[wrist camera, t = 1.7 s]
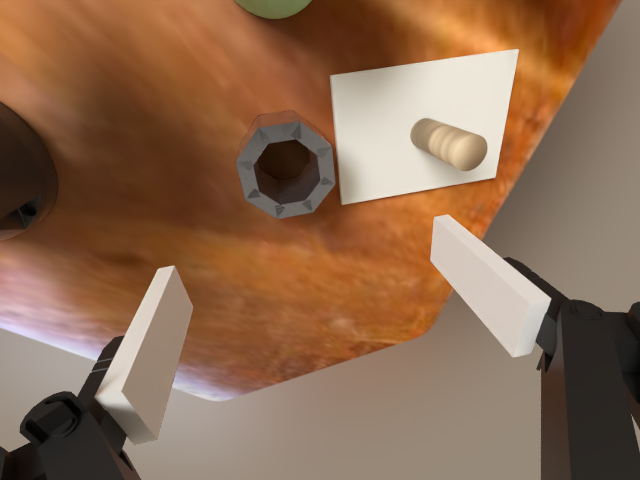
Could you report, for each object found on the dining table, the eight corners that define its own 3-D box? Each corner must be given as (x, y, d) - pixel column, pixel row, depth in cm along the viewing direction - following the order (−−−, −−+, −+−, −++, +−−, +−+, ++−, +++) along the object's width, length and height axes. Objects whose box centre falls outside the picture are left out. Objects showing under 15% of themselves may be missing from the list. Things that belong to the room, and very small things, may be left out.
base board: (340, 202, 38) (342, 204, 37) (329, 75, 31) (331, 75, 30) (491, 175, 40) (495, 177, 39) (513, 49, 33) (519, 48, 32)
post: (409, 149, 35) (451, 174, 28) (410, 120, 34) (455, 137, 26) (436, 145, 36) (484, 168, 28) (438, 116, 34) (490, 131, 26)
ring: (252, 196, 36) (251, 223, 30) (233, 118, 31) (227, 132, 26) (325, 184, 37) (337, 208, 31) (316, 106, 32) (329, 116, 26)
